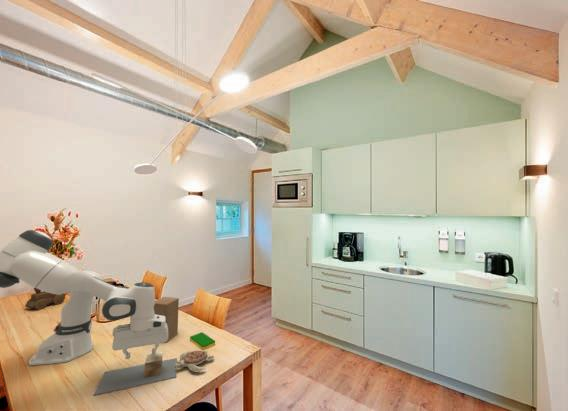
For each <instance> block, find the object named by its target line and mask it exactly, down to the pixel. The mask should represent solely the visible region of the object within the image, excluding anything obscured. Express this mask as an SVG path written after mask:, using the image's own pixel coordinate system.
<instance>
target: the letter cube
mask: <svg viewBox="0 0 568 411" xmlns="http://www.w3.org/2000/svg"><path fill="white" fill-rule="evenodd" d="M162 361H163V351H159V352H156V354H153V355H152V353H150V354H149V353H148V354H146V357H145V362H144V364H145V374H144V378H145V377H150V376H154V375H159V374H161V369H162Z"/></svg>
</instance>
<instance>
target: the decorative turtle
mask: <svg viewBox="0 0 568 411" xmlns="http://www.w3.org/2000/svg"><path fill="white" fill-rule="evenodd" d="M208 352H209V350H193V351H189V350H187V351H185V352H183V353H182V354H180V356H179V359H180V361H177V363H176V365H175V368H176V369H177V370H178V369H182V368H183V367H187V368H188V369H189V370H190V371H192V372H195V373H199V372H202V371H205V370H206V369H207V368H206V366H199V365H200V364H202V363H203V362H204V361H211V360H213V359H214V358H215V356H214V355H208V354H207V353H208Z"/></svg>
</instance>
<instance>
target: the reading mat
mask: <svg viewBox="0 0 568 411" xmlns="http://www.w3.org/2000/svg"><path fill="white" fill-rule="evenodd" d="M177 362H178V357H176V358H169V359H164V360H162V369H161V374H159V375H154V376H150V377H145V378H144V374H145V363H144V364H139V365H134V366H128V367H124V368H123V367H122V368H118V369H114V370H109V371H108V370H107V371H104V372H103V374H102V376H101V378H100V380H99V382H98V383H97V384H98V385H97V387H96V388H95V390H94V392H93V397H95V396H99V395H103V394H108V393H112V392H118V391H120V390H125V389H126V390H127V389H130V388H134V387H139V386H144V385H148V384H154V383H159V382H163V381H167V380H171V379H176V378H177V372H178V371H177V370H178V369H176V368H175V365H176V363H177Z"/></svg>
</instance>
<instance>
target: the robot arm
mask: <svg viewBox="0 0 568 411" xmlns="http://www.w3.org/2000/svg"><path fill="white" fill-rule="evenodd" d="M53 245H54V240H52V238H51V236H49V235H48V233H45V232H42V231H41V230H33V229H28V230H24V231H23V232H22V233H20V234H19V235H18V236H17V237H16V238H15V239H13V240H12V241H11V242H10V243H8V244H7V245H6V246H4V247H3V248H2V249H1V251H0V288H1V289H2V288H3V289H5V288H10V287H12V286H14V285H16V284H19V283H21V282H20V281H22V282H24V283H26V284H28V285H29V286H31V287H33V288H37V289H39V290H41V292H43V291H44V292H48V293H52V294H57V295H59V294H64V295H66V294H69V299H68V301H67V303H65V304H64V305H63V306H62V307H61V312H60V314H61V315H60V322H58V323H57V325H56V326H55V327H54V329H53V334H52V335H50V336H49V337H48V338H46V339H45V340H44V341H42V343H41V344H39V346H38V348H37V351H36V353H35V354H33V355H32V356H31V357H30V359H29V360H28V366H39V365H49V364H51V365H52V364H63V363H67V362H70V361H72V360H73V359H76V358H79V357H81V356H84V355H86V354H88V353H89V352H90V351H91V350H92V349H93V348H94V343H93V341H92V335H91V334H92V333H91V331H92V325H93V324H92V318H91V317H92V316H91V314H92V313H91V312H92V304H93V301H94V298H99V299H101V300H103V301H105V302H104V303H103V306H102V308H101V313H102V315H103V318H105V319H106V320H108V321H112V322H113V321H114V322H115V321H120V320H123V319H127V318H129V319H130V320H129V323H126V324H119V325H117V326H115V327H114V328H113V329H112V336H113V341H112V344H111V345H112V346H111V347H112V348H111V349H112V350H113V351H120V350H122V353H123V355H124V356H125V359H124V360H130V359H131V352H128V349H132V348H139V347H144V346H150V345H154V348H152V349H151V354H152V355H153V354H156V353H157V349H158V347H159V346H160V344H162V343H164V342H166V341H167V340H168V326H167V323H166V317H165V316H162V315H156V314H155V312H154V304H155V301H156V291H155V286H154V285H153V284H151V283H149V282H143V281H141V282H136V283H134V284H133V285H132V286H129V287H128V286H125V285H123V286H121V285H114V284H112V283H109V282H107V281H105V277H104V276H103V274H101V273H98V272H96V271H93V270H84V269H80V268H77V267H76V266H74V265H72V264H70V263H68V262H67V261H66V260H64V259H62V258H60V257H58V256H56V255H54V254H52V253H50V252H49V251H50V250H51V249H52V247H53ZM167 342H168V341H167ZM167 342H166V343H167Z"/></svg>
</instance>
